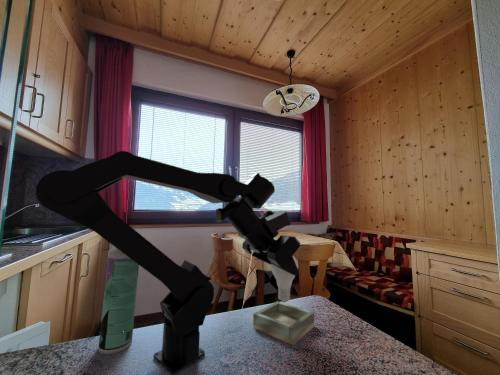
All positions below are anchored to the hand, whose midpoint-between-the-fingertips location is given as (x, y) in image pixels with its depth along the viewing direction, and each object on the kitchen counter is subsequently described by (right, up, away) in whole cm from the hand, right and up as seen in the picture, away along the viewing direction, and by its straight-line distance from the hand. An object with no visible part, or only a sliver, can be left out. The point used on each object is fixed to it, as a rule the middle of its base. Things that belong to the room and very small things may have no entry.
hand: (289, 271), depth 52 cm
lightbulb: (-1, -7, -2) cm, 7 cm away
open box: (-1, -12, -2) cm, 12 cm away
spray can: (-35, -10, -10) cm, 38 cm away
